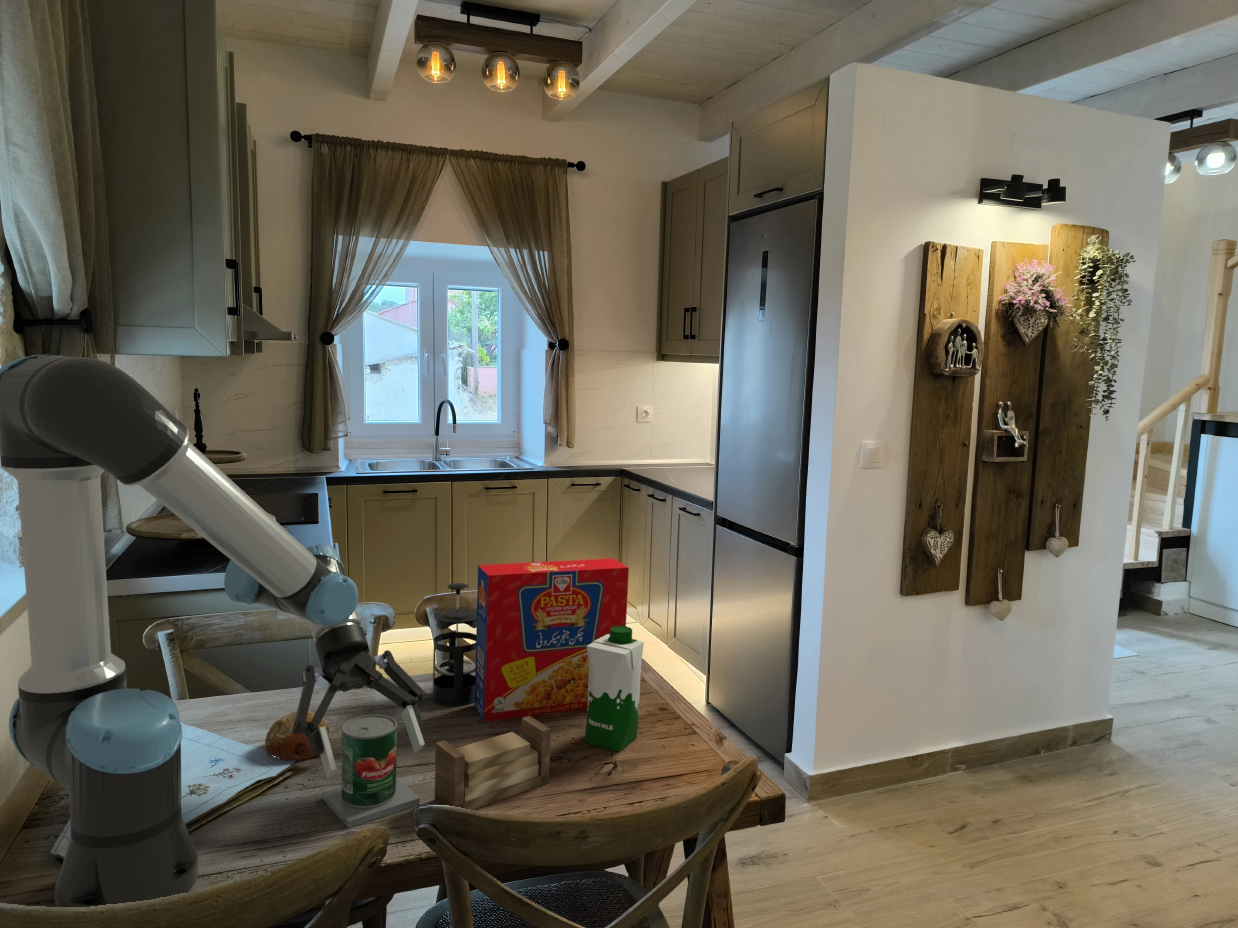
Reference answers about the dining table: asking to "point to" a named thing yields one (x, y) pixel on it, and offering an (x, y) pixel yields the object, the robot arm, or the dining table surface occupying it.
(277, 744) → the bread roll
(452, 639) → the french press
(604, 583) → the pasta box
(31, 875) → the dining table surface
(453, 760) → the walnut rack
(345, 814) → the grey tile
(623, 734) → the milk carton
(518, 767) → the offcut stack
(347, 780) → the canned tomato
